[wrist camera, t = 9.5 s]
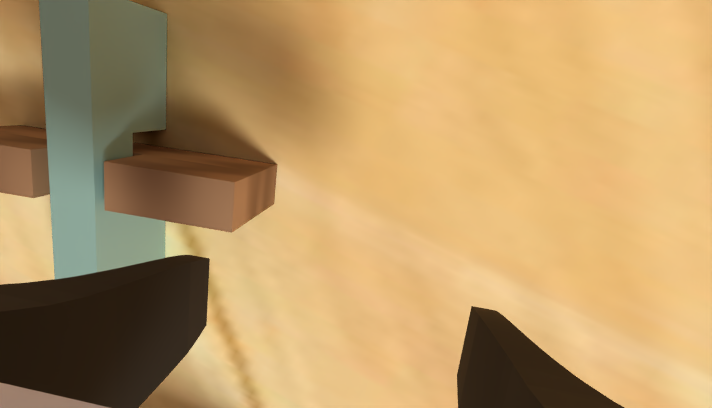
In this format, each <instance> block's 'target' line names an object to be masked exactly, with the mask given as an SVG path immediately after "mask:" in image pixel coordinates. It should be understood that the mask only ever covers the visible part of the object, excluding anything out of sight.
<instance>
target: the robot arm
mask: <svg viewBox="0 0 712 408" xmlns="http://www.w3.org/2000/svg"><path fill="white" fill-rule="evenodd" d="M208 279H209V258H203V257H198V256H192V255H180V256H173V257H167V258H162V259H157V260H153V261H148V262H144V263H139V264H134V265H130V266H125V267H121V268H116V269H111V270H106V271H101V272H96V273H90V274H85V275H80V276H74V277H68V278H61V279H55V280H46V281H38V282H30V283H19V284H4V285H0V408H138V407H139V406H140V405H141V404H142V403H143V402H144V401H145V400H146V399H147V398H148V396H149V395H150V394H151V393H152V392H153V391H154V390H155V389H156V388H157V387H158V386H159V384H160V383H161V382H162V381H163V380H164V379H165V378H166V377H167V376H168V375H169V373H170V372H171V371H172V370H173V369H174V368H175V367H176V366H177V365H178V363H179V362H180V361H181V360H182V359H183V358H184V357H185V355H186V354H187V353H188V352H189V350H190V349H191V347H192V346H193V345H194V343H195V342H196V340H197V339H198V337H199V336H200V334H201V332H202V331H203V329H204V328H205V326H206V321H207V300H208ZM457 387H458V408H624V407H622V406H621V405H619V404H617V403H615V402H614V401H612V400H611V399H609V398H607V397H606V396H604V395H603V394H601V393H600V392H598V391H597V390H595V389H594V388H592V387H591V386H589V385H588V384H586V383H585V382H583V381H582V380H580V379H579V378H577V377H576V376H575V375H573V374H572V373H571V372H569V371H568V370H567V369H565V368H564V367H563V366H562V365H560V364H559V363H558V362H556V361H555V360H554V359H552V358H551V357H550V356H549V355H548V354H546V353H545V352H544V351H543V350H542V349H540V348H539V347H538V346H537V345H536V344H535V343H533V342H532V341H531V340H530V339H529V338H528V337H527V336H525V335H524V334H523V333H522V332H521V331H520V330H519V329H518V328H516V327H515V326H514V325H513V324H512V323H511V322H510V321H509V320H507V319H506V318H505V317H504V316H503V315H501V314H500V313H499V312H497V311H495V310H489V309H484V308H478V307H473V306H472V307H471V312H470V317H469V321H468V326H467V331H466V336H465V340H464V345H463V350H462V355H461V359H460V364H459V369H458V374H457Z"/></svg>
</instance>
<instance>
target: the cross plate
mask: <svg viewBox="0 0 712 408" xmlns="http://www.w3.org/2000/svg"><path fill="white" fill-rule="evenodd" d="M39 11H40V28H41V46H42V63H43V81H44V98H45V116H46V133H47V150H48V168H49V185H50V203H51V220H52V238H53V255H54V273H55V279H61V278H68V277H74V276H80V275H85V274H90V273H96V272H101V271H106V270H111V269H116V268H121V267H125V266H130V265H134V264H139V263H144V262H148V261H153V260H157V259H162V258H165V221H163V220H157V219H151V218H146V217H140V216H134V215H128V214H123V213H117V212H111V211H105V204H104V161H109V160H115V159H120V158H126V157H131V156H133V133H135V132H145V131H155V130H165V129H166V71H167V14H166V13H163V12H160V11H158V10H155V9H152V8H149V7H146V6H143V5H141V4H138V3H135V2H132V1H129V0H39Z"/></svg>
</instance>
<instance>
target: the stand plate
mask: <svg viewBox="0 0 712 408" xmlns="http://www.w3.org/2000/svg"><path fill="white" fill-rule="evenodd" d="M276 173H277V164H271V163H264V162H258V161H251V160H245V159H238V158H231V157H225V156H218V155H212V154H205V153H199V152H192V151H186V150H179V149H173V148H166V147H160V146H153V145H146V144H140V143H133V156H131V157H126V158H120V159H115V160H109V161H104V204H105V211H111V212H117V213H123V214H128V215H134V216H140V217H146V218H151V219H157V220H163V221H169V222H174V223H180V224H186V225H192V226H198V227H203V228H209V229H215V230H221V231H226V232H233V231H235V230H236V229H238V228H239V227H241V226H242V225H243V224H245V223H246V222H248V221H249V220H251V219H252V218H254V217H255V216H257V215H258V214H260V213H261V212H263V211H264V210H266V209H267V208H269V207H270V206H271V205H273V204H274V197H275V185H276ZM0 192H1V193H7V194H13V195H19V196H24V197H30V198H36V197H40V196H44V195H48V194H50V185H49V168H48V150H47V133H46V129H42V128H35V127H29V126H22V125H19V126H0Z"/></svg>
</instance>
